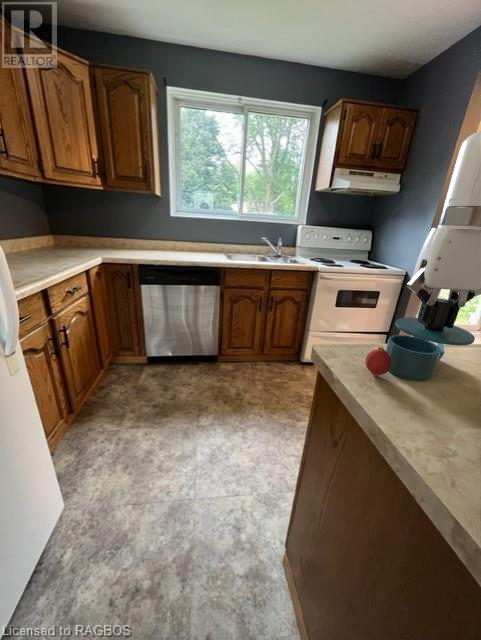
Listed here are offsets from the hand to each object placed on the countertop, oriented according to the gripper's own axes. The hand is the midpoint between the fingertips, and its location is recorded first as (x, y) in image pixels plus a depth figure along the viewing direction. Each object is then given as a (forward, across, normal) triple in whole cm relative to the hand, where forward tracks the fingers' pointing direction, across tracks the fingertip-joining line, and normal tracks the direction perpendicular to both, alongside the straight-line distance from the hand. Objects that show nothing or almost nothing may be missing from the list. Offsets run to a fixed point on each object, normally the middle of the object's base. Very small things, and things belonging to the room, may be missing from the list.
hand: (434, 323), depth 51 cm
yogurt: (+19, -16, -20) cm, 32 cm away
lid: (+2, 0, 0) cm, 2 cm away
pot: (+19, -8, -16) cm, 26 cm away
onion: (+19, +2, -12) cm, 22 cm away
